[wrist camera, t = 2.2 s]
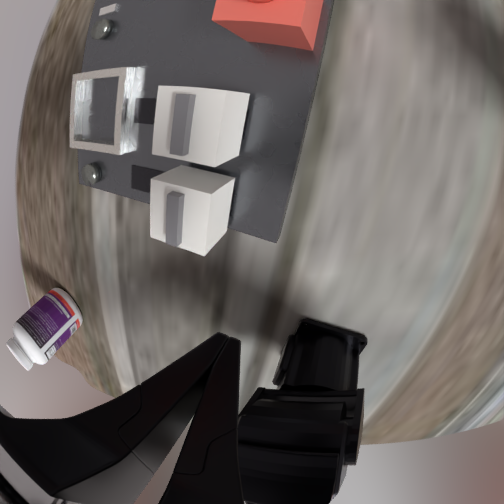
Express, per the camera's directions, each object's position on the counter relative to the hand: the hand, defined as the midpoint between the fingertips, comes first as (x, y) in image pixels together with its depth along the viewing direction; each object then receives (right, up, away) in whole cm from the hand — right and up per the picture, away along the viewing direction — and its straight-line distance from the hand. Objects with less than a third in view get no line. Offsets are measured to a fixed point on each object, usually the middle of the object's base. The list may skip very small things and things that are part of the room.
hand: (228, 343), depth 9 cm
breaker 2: (-3, +7, +9) cm, 12 cm away
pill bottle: (-30, -6, +29) cm, 43 cm away
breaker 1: (-2, +11, +6) cm, 13 cm away
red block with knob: (+3, +17, +2) cm, 17 cm away
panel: (-5, +16, +7) cm, 18 cm away
